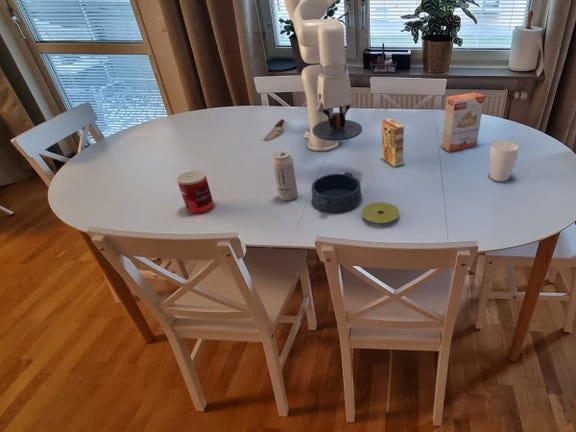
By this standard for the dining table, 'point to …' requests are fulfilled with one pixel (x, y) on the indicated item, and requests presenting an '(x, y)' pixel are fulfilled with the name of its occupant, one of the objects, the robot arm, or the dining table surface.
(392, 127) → the candy box
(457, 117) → the cracker box
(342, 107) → the robot arm
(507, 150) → the cup
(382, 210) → the olive green disc
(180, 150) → the dining table surface
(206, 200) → the canned food
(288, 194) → the energy drink can
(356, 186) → the pan
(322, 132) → the pan lid
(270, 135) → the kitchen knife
